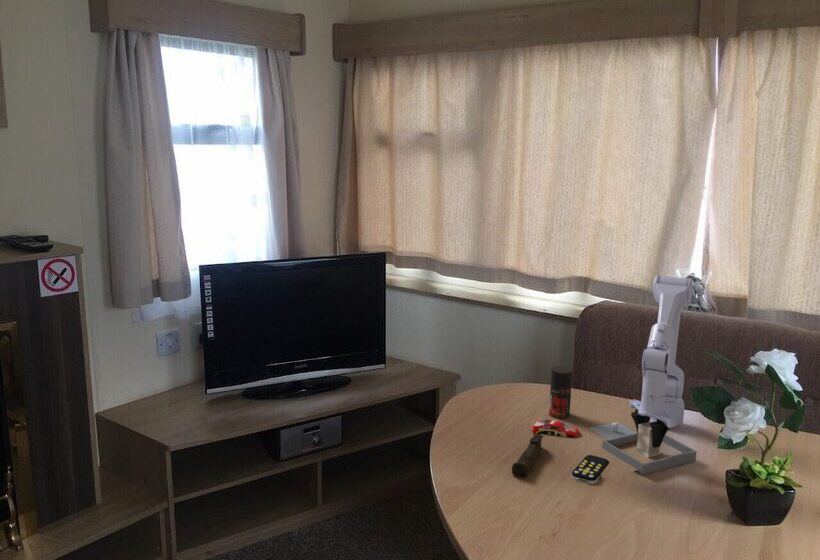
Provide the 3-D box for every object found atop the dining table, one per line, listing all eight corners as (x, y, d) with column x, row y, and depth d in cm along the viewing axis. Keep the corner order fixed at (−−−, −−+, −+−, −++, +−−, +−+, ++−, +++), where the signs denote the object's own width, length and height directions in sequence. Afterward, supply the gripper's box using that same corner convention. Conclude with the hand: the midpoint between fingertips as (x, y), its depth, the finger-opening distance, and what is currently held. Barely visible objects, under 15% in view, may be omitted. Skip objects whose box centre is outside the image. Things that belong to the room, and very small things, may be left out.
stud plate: (616, 424, 211) (617, 412, 210) (641, 438, 202) (642, 426, 201) (588, 431, 206) (589, 418, 206) (612, 445, 198) (613, 432, 197)
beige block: (636, 452, 192) (638, 424, 191) (648, 450, 194) (650, 421, 192) (647, 458, 189) (649, 429, 187) (659, 456, 190) (661, 427, 189)
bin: (653, 438, 202) (654, 428, 201) (695, 461, 189) (696, 451, 188) (601, 451, 194) (602, 440, 194) (642, 476, 181) (642, 464, 180)
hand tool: (526, 480, 179) (527, 463, 178) (510, 476, 181) (511, 459, 180) (549, 450, 195) (550, 434, 194) (534, 446, 197) (535, 430, 196)
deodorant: (544, 415, 217) (547, 367, 213) (561, 412, 219) (564, 365, 216) (556, 423, 211) (559, 374, 208) (573, 420, 214) (576, 371, 210)
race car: (581, 435, 205) (582, 422, 204) (579, 443, 200) (580, 429, 199) (533, 428, 208) (534, 415, 208) (530, 436, 203) (531, 423, 202)
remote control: (610, 465, 187) (610, 458, 187) (594, 486, 177) (594, 479, 176) (586, 459, 190) (587, 452, 190) (569, 479, 180) (569, 472, 179)
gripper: (621, 386, 192) (618, 434, 195) (662, 406, 179) (657, 457, 183) (642, 382, 195) (638, 429, 198) (683, 401, 182) (679, 451, 186)
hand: (649, 442), depth 191 cm, fingers open, 5 cm apart
